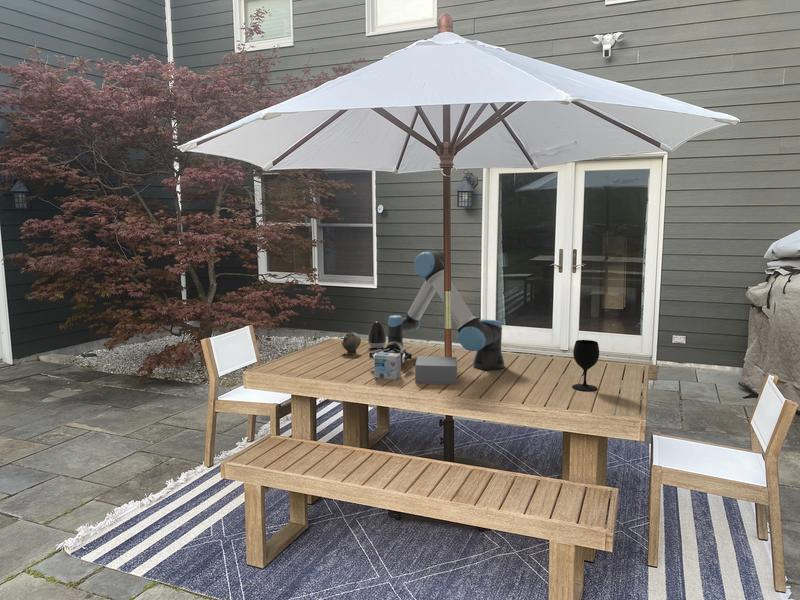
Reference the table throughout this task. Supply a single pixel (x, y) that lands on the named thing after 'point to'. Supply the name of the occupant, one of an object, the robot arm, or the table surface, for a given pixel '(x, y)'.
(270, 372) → the table surface
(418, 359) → the grey block
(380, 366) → the light bulb box
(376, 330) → the black tapered dome
